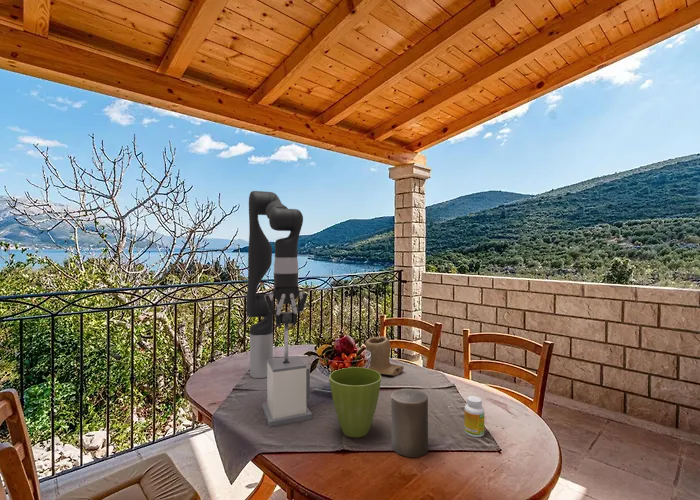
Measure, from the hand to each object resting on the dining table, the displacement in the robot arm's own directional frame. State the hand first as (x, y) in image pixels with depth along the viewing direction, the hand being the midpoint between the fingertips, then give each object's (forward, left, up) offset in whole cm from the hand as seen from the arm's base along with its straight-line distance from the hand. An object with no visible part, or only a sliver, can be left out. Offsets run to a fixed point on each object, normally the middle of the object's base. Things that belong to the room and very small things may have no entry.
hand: (286, 325), depth 112 cm
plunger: (0, 0, -15) cm, 15 cm away
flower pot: (+18, +16, -28) cm, 37 cm away
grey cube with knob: (0, 0, -28) cm, 28 cm away
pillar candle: (+31, +26, -28) cm, 49 cm away
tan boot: (-20, +45, -28) cm, 57 cm away
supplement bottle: (+32, +47, -28) cm, 63 cm away
